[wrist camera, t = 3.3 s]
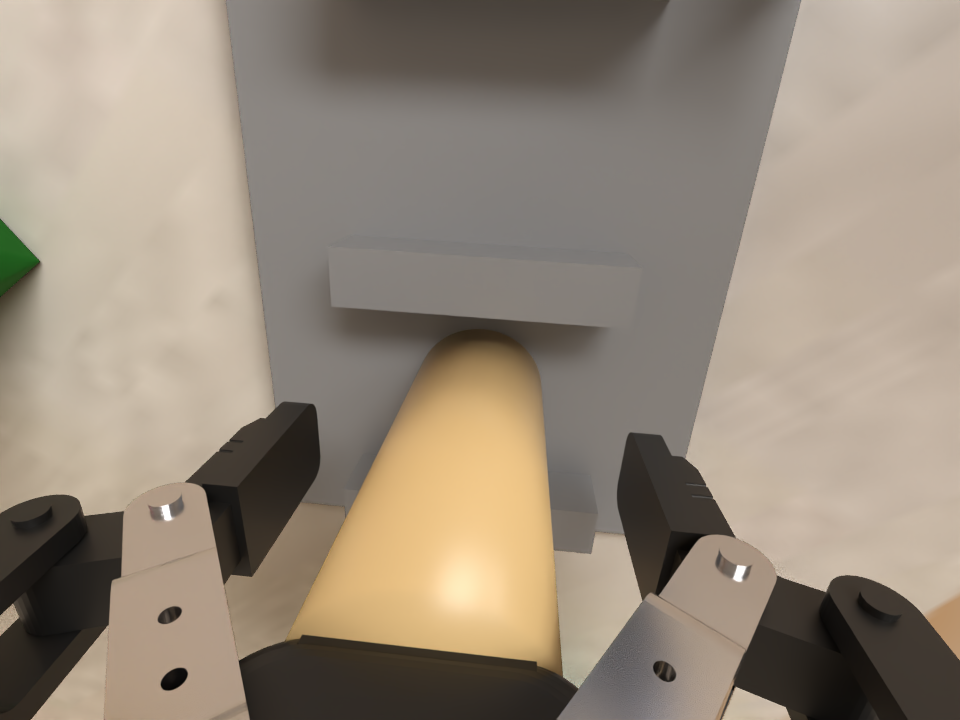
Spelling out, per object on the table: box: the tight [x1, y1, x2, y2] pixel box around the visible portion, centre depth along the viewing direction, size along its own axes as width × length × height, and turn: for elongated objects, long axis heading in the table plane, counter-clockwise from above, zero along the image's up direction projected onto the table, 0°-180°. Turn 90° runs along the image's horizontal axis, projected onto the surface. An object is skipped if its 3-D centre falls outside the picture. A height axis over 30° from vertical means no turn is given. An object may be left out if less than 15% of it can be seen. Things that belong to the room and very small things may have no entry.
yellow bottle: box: [285, 329, 563, 677], centre depth 10 cm, size 4×4×12 cm
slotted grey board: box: [226, 0, 801, 554], centre depth 12 cm, size 14×26×5 cm, turn 177°
